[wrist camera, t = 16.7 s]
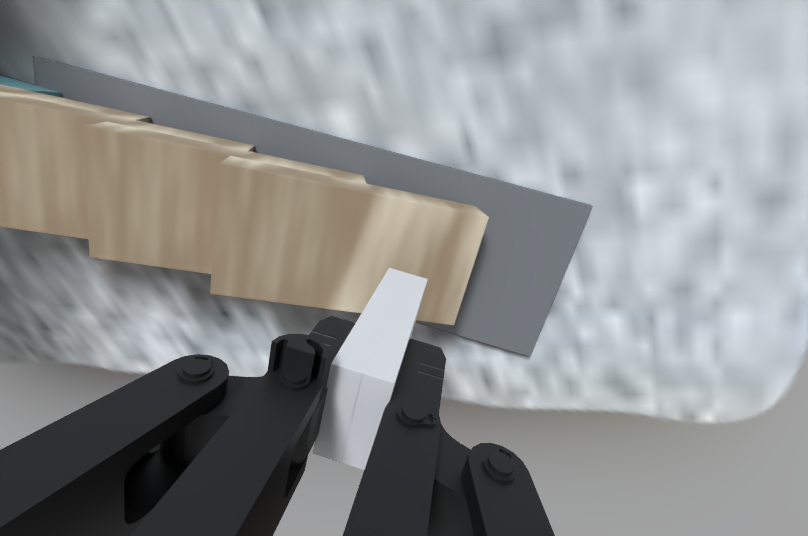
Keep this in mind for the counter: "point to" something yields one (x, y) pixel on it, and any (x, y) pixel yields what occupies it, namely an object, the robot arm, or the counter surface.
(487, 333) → the runner mat
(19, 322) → the counter surface
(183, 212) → the light wood flat block
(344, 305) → the tile
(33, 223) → the beige wooden block
